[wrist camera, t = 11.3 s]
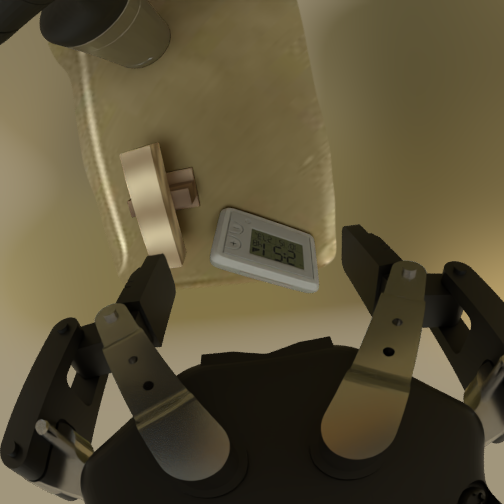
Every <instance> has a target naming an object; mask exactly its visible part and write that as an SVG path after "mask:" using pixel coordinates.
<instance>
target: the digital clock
mask: <svg viewBox="0 0 504 504" xmlns="http://www.w3.org/2000/svg"><path fill="white" fill-rule="evenodd" d="M210 262H211V264H212V265H213V266H215V267H217V268H220V269H223V270H226V271H229V272H233V273H236V274H239V275H243V276H246V277H250V278H253V279H257V280H260V281H264V282H268V283H271V284H275V285H278V286H282V287H286V288H289V289H293V290H297V291H301V292H305V293H314V292H316V291H317V290H318V289H319V279H318V269H317V260H316V251H315V243H314V239H313V237H312V236H311V235H309V234H307V233H304V232H302V231H299V230H296V229H293V228H290V227H288V226H285V225H282V224H279V223H276V222H273V221H270V220H267V219H264V218H261V217H258V216H255V215H252V214H249V213H246V212H243V211H240V210H237V209H234V208H226V209H223V210H222V211H221V213H220V216H219V220H218V224H217V228H216V232H215V236H214V240H213V245H212V249H211V254H210Z"/></svg>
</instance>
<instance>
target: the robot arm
mask: <svg viewBox="0 0 504 504" xmlns="http://www.w3.org/2000/svg"><path fill="white" fill-rule="evenodd" d="M40 11H42V12H41V16H40V30H41V33H42V35H43V36H44V38H45V39H46V40H48V41H49V42H51V43H54V44H57V45H61V46H64V47H68V48H71V49H75V50H78V51H82V52H85V53H88V54H91V55H94V56H97V57H100V58H103V59H106V60H109V61H111V62H114V63H117V64H120V65H122V66H125V67H128V68H141V67H145V66H147V65H149V64H151V63H153V62H154V61H156V60H157V59H158V58H159V57H161V55H162V54H163V53H164V52H165V50H166V49H167V47H168V44H169V41H170V30H169V28H168V25H167V24H166V23H165V22H164V20H163V19H162V18H161V17H160V15H159V14H158V13H157V12H156V10H155V9H154V8H153V7H152V6H151V5H150V3H149V2H148V1H147V0H0V45H1V44H2V43H4V42H5V41H6V40H8V39H9V38H10V37H11V36H12V35H13V34H14V33H16V31H18V30H19V29H20V28H21V27H22V26H23V25H25V24H26V23H27V22H28V21H29V20H31V19H32V18H33V17H34V16H35V15H37V14H38V13H39V12H40ZM342 265H343V268H344V271H345V273H346V274H347V276H348V277H349V279H350V281H351V282H352V284H353V285H354V287H355V289H356V291H357V292H358V294H359V295H360V297H361V299H362V301H363V302H364V304H365V306H366V307H367V309H368V311H369V313H370V314H371V316H372V319H371V322H370V324H369V327H368V329H367V332H366V334H365V336H364V339H363V341H362V344H361V346H360V348H359V349H357V348H353V347H348V346H341V345H333V343H332V340H331V338H330V337H324V338H319V339H314V340H308V341H303V342H298V343H296V344H293V345H290V346H288V347H285V348H282V349H279V350H276V351H274V352H271V353H267V354H258V353H243V352H224V353H214V354H203V355H202V356H201V364H200V365H197V366H194V367H191V368H189V369H187V370H185V371H183V372H182V373H180V374H178V375H177V376H176V375H175V374H174V373H173V371H172V370H171V369H170V367H169V366H168V365H167V363H166V362H165V361H164V360H163V358H162V357H161V355H160V354H159V353H158V351H157V350H156V348H155V347H161V346H162V342H163V338H164V334H165V330H166V327H167V323H168V320H169V316H170V312H171V309H172V305H173V302H174V298H175V293H176V290H175V284H174V280H173V277H172V274H171V271H170V268H169V265H168V262H167V259H166V257H165V255H164V254H163V253H162V254H156V255H150V256H147V257H146V259H145V261H144V263H143V264H142V266H141V268H138V269H137V270H136V271H135V272H134V273H132V274H131V276H130V278H129V280H128V283H126V285H125V288H124V289H123V291H122V292H121V294H120V296H119V298H118V300H117V302H116V303H115V304H111V305H108V306H106V307H104V308H103V309H102V310H100V311H99V312H98V314H97V315H96V317H95V322H94V323H92V324H88V325H85V326H82V327H81V326H80V324H79V323H78V321H77V319H75V318H66V319H63V320H61V321H60V322H59V323H57V324H56V325H55V326H54V327H53V329H52V331H51V332H50V334H49V336H48V338H47V340H46V341H45V343H44V345H43V347H42V349H41V351H40V353H39V355H38V356H37V358H36V360H35V362H34V364H33V366H32V368H31V370H30V373H29V375H28V377H27V379H26V381H25V383H24V385H23V388H22V390H21V392H20V395H19V397H18V399H17V402H16V404H15V407H14V409H13V412H12V414H11V417H10V420H9V422H8V425H7V428H6V431H5V434H4V437H3V440H2V443H1V448H0V454H1V459H2V461H3V463H4V464H5V465H6V466H7V467H8V468H10V469H11V470H13V471H14V472H16V473H17V474H19V475H21V476H22V477H23V478H24V479H26V480H27V481H29V482H30V483H32V484H34V485H36V486H37V487H39V488H41V489H43V490H45V491H47V492H49V493H51V494H55V495H57V496H59V497H61V498H63V499H65V500H68V501H74V500H77V499H81V500H84V502H85V504H502V503H500V502H499V501H498V500H497V499H496V498H495V496H494V495H493V494H492V493H491V492H490V490H489V489H488V487H487V484H486V481H485V474H484V447H485V446H486V445H488V444H490V443H491V442H492V443H501V442H503V441H504V302H503V301H502V300H501V299H500V297H499V296H498V295H497V294H496V293H495V292H494V291H493V290H492V289H491V288H490V287H489V286H488V285H487V284H486V283H485V281H484V280H483V279H482V278H480V276H479V275H478V274H477V273H476V272H475V271H474V270H473V269H472V268H471V267H469V266H468V265H466V264H464V263H461V262H456V261H452V262H448V263H446V264H445V266H444V270H443V273H442V274H427V272H426V270H425V268H424V267H423V266H422V265H420V264H418V263H416V262H413V261H403V260H402V259H401V258H400V257H399V256H398V255H397V254H396V253H395V252H394V251H393V250H392V249H390V247H389V246H388V245H387V244H386V243H385V242H384V241H383V240H382V239H381V238H380V237H378V236H376V235H374V234H372V233H367V232H366V230H365V229H364V228H363V227H362V226H360V225H359V224H358V225H351V226H344V227H343V229H342ZM463 310H464V311H465V312H466V313H467V315H468V316H469V318H470V320H471V330H469V329H468V327H467V326H466V324H465V323H464V322H463V320H462V319H461V315H462V312H463ZM427 327H429V328H430V330H431V331H432V333H433V335H434V336H435V338H436V339H437V341H438V343H439V345H440V346H441V348H442V350H443V351H444V353H445V355H446V357H447V358H448V360H449V362H450V364H451V365H452V367H453V369H454V371H455V373H456V375H457V376H458V378H459V381H460V382H461V384H462V386H463V388H464V390H465V392H464V398H463V400H464V403H463V402H461V401H459V400H457V399H455V398H453V397H451V396H449V395H447V394H445V393H443V392H441V391H439V390H437V389H435V388H433V387H431V386H429V385H427V384H425V383H423V382H421V381H419V380H418V379H416V378H414V377H412V374H413V370H414V366H415V362H416V357H417V352H418V347H419V342H420V337H421V331H422V328H427ZM71 365H72V367H73V368H74V369H75V370H76V372H77V373H76V375H75V378H74V381H73V383H72V386H71V388H70V387H69V385H68V383H67V373H68V371H69V368H70V366H71ZM109 373H112V374H113V377H114V379H115V381H116V383H117V385H118V387H119V389H120V391H121V394H122V396H123V398H124V400H125V402H126V404H127V405H128V407H129V409H130V411H131V413H132V415H133V417H132V418H131V419H130V420H129V421H128V422H127V423H126V424H125V425H124V426H122V427H121V428H120V429H119V430H118V431H117V432H116V433H115V434H114V435H113V436H112V437H111V438H109V439H108V440H107V441H106V442H105V443H104V444H103V445H102V446H101V447H99V448H98V449H97V450H96V451H95V452H94V450H93V447H92V445H91V442H92V437H93V432H94V428H95V424H96V419H97V415H98V411H99V407H100V403H101V400H102V396H103V392H104V389H105V385H106V381H107V378H108V374H109Z"/></svg>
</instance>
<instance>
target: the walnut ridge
mask: <svg viewBox="0 0 504 504" xmlns="http://www.w3.org/2000/svg"><path fill="white" fill-rule="evenodd" d="M166 176H167V180H168V184H169V189H170V193H171V197H172V200H173V204H174V208H175V211H176V210H181V209H186V208H192V207H197V206H200V202H199V198H198V193H197V188H196V183H195V178H194V174H193V169H192V167H191V168H186V169H181V170H177V171H172V172H167V173H166ZM127 202H128V206H129V209H130V213H131V216H132V217H136V214H135V211H134V208H133V204H132V201H131V199H130V200H128V201H127Z"/></svg>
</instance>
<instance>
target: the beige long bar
mask: <svg viewBox="0 0 504 504" xmlns="http://www.w3.org/2000/svg"><path fill="white" fill-rule="evenodd" d="M119 155H120V159H121V164H122V168H123V171H124V175H125V179H126V183H127V187H128V190H129V194H130V197H131V201H132V204H133V208H134V211H135V214H136V217H137V221H138V224H139V227H140V230H141V233H142V236H143V239H144V242H145V245H146V248H147V251H148V254H149V256H150V255H156V254H162V253H163V254H164V255H165V257H166V259H167V262H168V265H169V268H176V267H182V265H183V262H184V259H185V256H186V253H187V252H186V248H185V245H184V241H183V238H182V234H181V231H180V227H179V223H178V220H177V216H176V212H175V208H174V204H173V200H172V197H171V193H170V189H169V184H168V180H167V176H166V172H165V168H164V163H163V159H162V155H161V150H160V145H159V142H158V143H154V144H150V145H147V146H143V147H140V148H136V149H133V150H130V151H127V152H125V153H122V154H119Z"/></svg>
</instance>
